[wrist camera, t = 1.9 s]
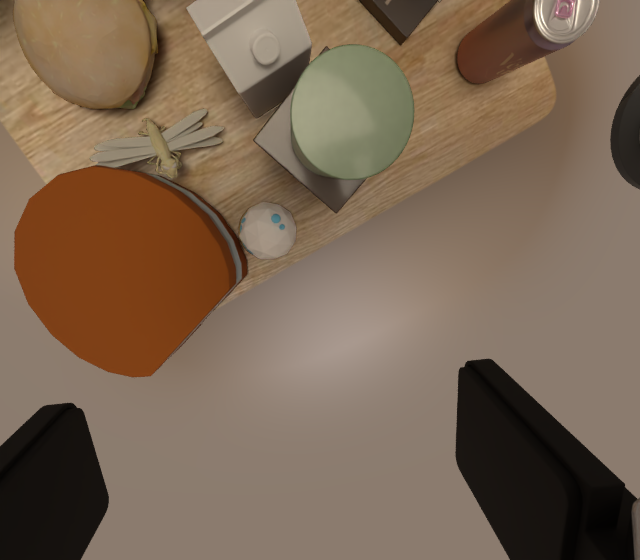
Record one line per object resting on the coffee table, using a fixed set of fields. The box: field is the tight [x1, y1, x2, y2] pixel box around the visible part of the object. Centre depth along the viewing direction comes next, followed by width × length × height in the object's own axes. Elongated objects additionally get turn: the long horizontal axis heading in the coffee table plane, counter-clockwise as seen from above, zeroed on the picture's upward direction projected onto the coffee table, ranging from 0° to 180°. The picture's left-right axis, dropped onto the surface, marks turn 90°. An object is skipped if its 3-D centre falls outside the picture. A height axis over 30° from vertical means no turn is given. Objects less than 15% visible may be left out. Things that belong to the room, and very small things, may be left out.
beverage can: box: [457, 0, 600, 84], centre depth 38 cm, size 6×6×15 cm
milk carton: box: [186, 0, 312, 118], centre depth 35 cm, size 7×7×19 cm
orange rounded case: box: [14, 165, 247, 377], centre depth 45 cm, size 22×10×23 cm
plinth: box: [253, 46, 367, 213], centre depth 38 cm, size 9×9×17 cm
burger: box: [13, 0, 158, 109], centre depth 37 cm, size 13×14×8 cm
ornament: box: [239, 202, 296, 259], centre depth 45 cm, size 7×7×8 cm
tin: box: [290, 44, 414, 180], centre depth 25 cm, size 7×7×11 cm
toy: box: [90, 109, 224, 178], centre depth 42 cm, size 15×9×5 cm
